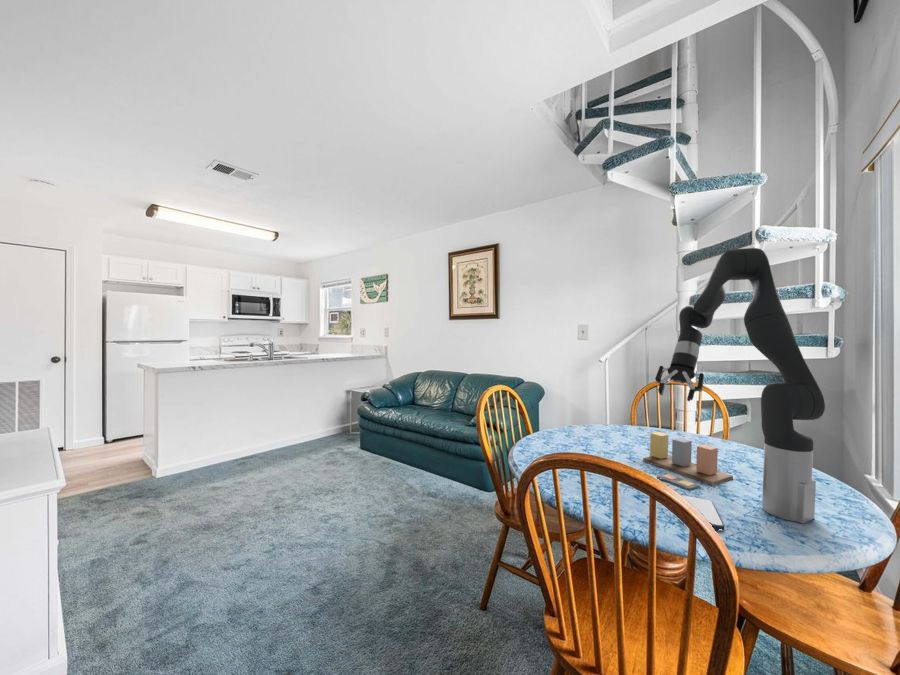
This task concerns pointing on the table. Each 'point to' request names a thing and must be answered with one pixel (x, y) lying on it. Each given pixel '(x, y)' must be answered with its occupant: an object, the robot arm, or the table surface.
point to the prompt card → (678, 481)
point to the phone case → (707, 511)
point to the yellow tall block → (659, 445)
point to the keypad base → (689, 470)
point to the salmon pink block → (706, 459)
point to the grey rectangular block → (681, 451)
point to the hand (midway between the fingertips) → (674, 397)
